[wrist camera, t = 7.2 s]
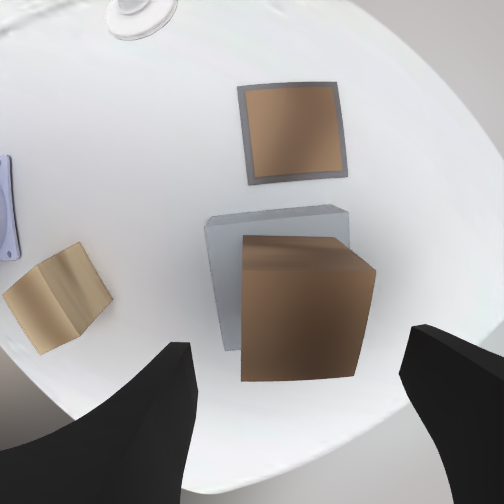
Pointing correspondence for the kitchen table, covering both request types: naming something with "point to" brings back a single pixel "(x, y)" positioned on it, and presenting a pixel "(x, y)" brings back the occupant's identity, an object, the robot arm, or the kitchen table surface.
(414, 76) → the kitchen table surface
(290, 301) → the walnut block
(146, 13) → the chess piece
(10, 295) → the oak block
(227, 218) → the base block
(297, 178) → the walnut swatch
